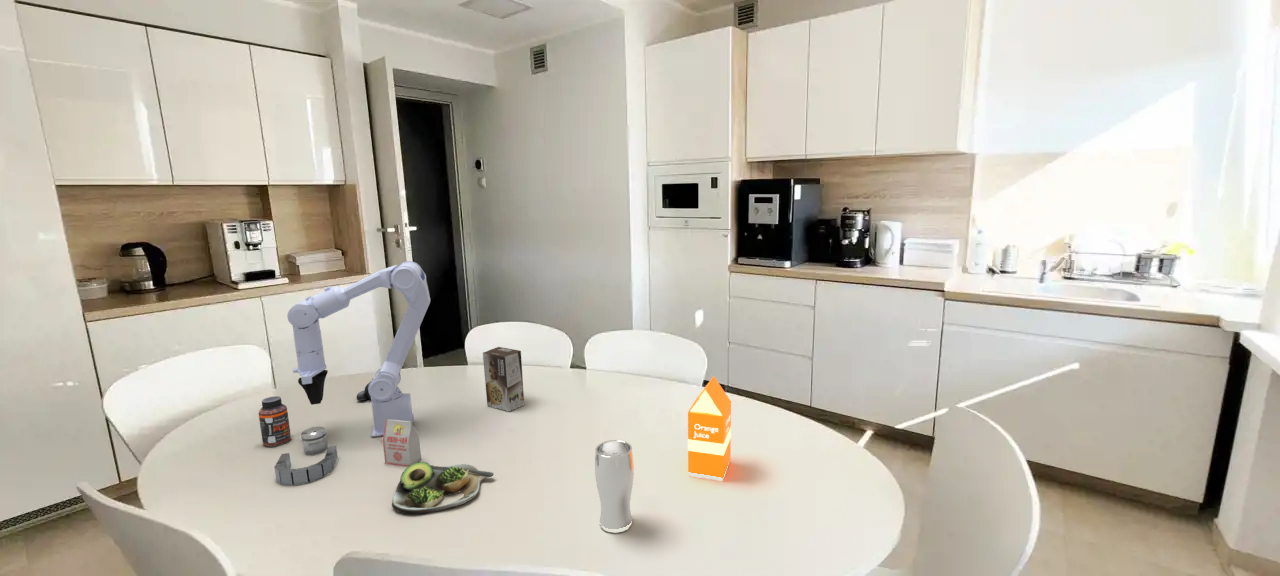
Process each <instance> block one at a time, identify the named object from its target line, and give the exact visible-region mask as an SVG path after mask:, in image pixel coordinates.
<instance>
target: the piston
mask: <svg viewBox="0 0 1280 576" xmlns="http://www.w3.org/2000/svg"><path fill="white" fill-rule="evenodd" d="M326 431H327V430H326V427H324V426H313V427H309V428H306V429H304V430H303V431H302V432H301V433H300V434H301V441H302V450H303V455H305V456H309V455H310V456H316V454H317V455H320V454H323V453H325V452H327V450H328V448H329V445H328V438H327V432H326Z"/></svg>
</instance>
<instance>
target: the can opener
mask: <svg viewBox="0 0 1280 576" xmlns="http://www.w3.org/2000/svg"><path fill="white" fill-rule="evenodd" d="M373 379H374V377H372V378H371V380H370V381H369V382H368V383H367V384H366V385H365V386H364V390H362V391H360V392H358V393H357V394H356V401H367V400H371V396H370V394H369V392H368V387H369V384H370V382H371V381H372V380H373Z"/></svg>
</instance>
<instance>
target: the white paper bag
mask: <svg viewBox="0 0 1280 576" xmlns="http://www.w3.org/2000/svg"><path fill="white" fill-rule="evenodd" d="M382 446H383V455H384V456H383V458H384V464H386V465H391V466H392V465H393V466H399V467H400V466H402V467H408V466H410V465H412V464H414V463H416V462H420V461H421V460H422V455H421V444H420V434H419V433H418V431H417V430H416V428H415V426H414V422H413V423H412V422H410V421H401V420H391V419H387V420H385V429H384V434H383V435H382ZM420 459H421V460H420Z"/></svg>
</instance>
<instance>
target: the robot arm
mask: <svg viewBox="0 0 1280 576" xmlns="http://www.w3.org/2000/svg"><path fill="white" fill-rule="evenodd" d="M393 287H394V288H395V289H396V290H397V291H398V292H400V293H401V295H403V297H404V299H405V300H406V302H407V304H408V306H407V309H406V310H405V313H404V314H403V315H404V316H403V317H402V320H401V322H400V324H399V327H398V328H397V332H396V333H395V336H394V338H393V340H392V343H391V345H390V348H389V349H388V352H387V354H386V357H385V360H384V361H383V364H382V365H381V367H380V368H379V369H378V370H377V371H376V373H375V375H374V377H373V378H374V379H373V380H372V379H371V380H370V381H371V382H370V381H369V382H370V384H369V387H368V392H369V394H370V396H371V399H370V401H371V409H372V419H373V428H372V429H373V430H372V433H371V437H373V438H375V437H381V436H382V437H383V434H384V429H385V420H387V419H391V420H401V421H410V422H412V423H413V424H414V420H415V417H414V413H413V405H412V404H413V403H412V397H411V393H409V392H408V393H405V392H404V393H403V392H402V390H401V388H400V387H399V384H400V382H401V380H402V379H401V378H402V377H401V375H402V374H401V370H402V369H403V366H404V364H405V361H406V359H407V356H408V355H409V352H410V350H411V347H412V345H413V343H414V341H415V338H416V336H417V333H418V331H419V329H420V327H421V324H422V322H423V320H424V317H425V315H426V313H427V310H428V308H429V306H430V304H431V297H430V296H431V295H430V290H429V285H428V281H427V274H426V273H425V272H424V270H423V269H422V267H421V265H420V264H419V263H417V262H415V261H411V260H408V261H404V262H401V263H400V264H399V265H398V264H394V265H392V266H388V267H386V268H383V269H380V270H378V271H377V272H374V273H373V274H370V275H368V276H366V277H364V278H363V279H360V280H358V281H356V282H354V283H352V284H350V285H348V286H346V287H341V286H339V285H338V286H337V285H335V286H333V287H332V286H331V285H329V286H327V287H325V288H324V289H323V290H324V291H322V292H320V293H318V294H316V295H314V296H311V295H309V296H306V297H305V298H304V299H305V300H301V301H300V302H298V303H296V304H294V305H293V306H292V307H291V308H290V309H289V310H288V312H287V315H286V316H287V320H288V322H289V323H290V324H291V325H292V329H293V330H292V331H293V340H294V347H295V353H296V361H297V366H298V367H294V368H293V369H292V373H293V374H294V373H295V374H296V373H298V374H299V376H300V377H298V379H297V381H298V382H297V383H298V384H299V385H300V387H301V388H303V391H304V392H305V394H306V396H307V399H308V401H309V403H310V405H320V404H321V403H322V401H323V399H324V389H325V381H326V378H327V374H328V372H329V371H328V369H327V364H326V362H325V361H326V360H325V354H324V353H325V352H324V347H323V346H324V345H323V339H322V331H321V325H320V319H325V318H326V317H327V318H328V317H329V316H331V315H333V314H335V313H338V312H339V311H342V310H343V309H346V308H348V307H349V305H350V302H351V300H352V299H354V298H356V297H360V296H361V295H364V294H367V293H369V292H371V291H374V290H376V289H378V288H385V289H392V288H393Z"/></svg>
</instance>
